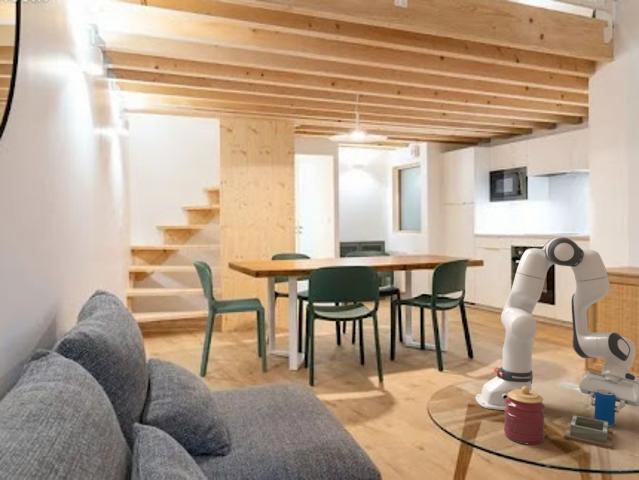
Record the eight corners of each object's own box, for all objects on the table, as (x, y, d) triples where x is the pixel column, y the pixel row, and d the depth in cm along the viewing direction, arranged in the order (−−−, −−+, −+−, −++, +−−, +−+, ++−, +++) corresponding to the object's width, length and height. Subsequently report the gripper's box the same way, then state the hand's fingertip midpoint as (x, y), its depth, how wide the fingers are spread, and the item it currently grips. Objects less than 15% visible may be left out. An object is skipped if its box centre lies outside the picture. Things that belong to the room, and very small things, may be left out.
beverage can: (614, 429, 177) (615, 396, 177) (593, 424, 181) (595, 392, 180) (614, 422, 183) (616, 390, 182) (594, 418, 186) (596, 387, 186)
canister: (507, 425, 179) (508, 377, 178) (546, 434, 172) (548, 384, 172) (500, 439, 168) (501, 388, 167) (541, 448, 161) (543, 395, 160)
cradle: (611, 449, 162) (612, 435, 161) (564, 438, 169) (564, 425, 169) (613, 433, 173) (613, 421, 173) (568, 424, 181) (569, 412, 181)
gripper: (583, 365, 193) (572, 396, 187) (643, 378, 178) (634, 412, 172) (586, 374, 196) (576, 404, 190) (646, 388, 181) (637, 421, 175)
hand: (604, 408), depth 181 cm, fingers closed on beverage can, 6 cm apart
